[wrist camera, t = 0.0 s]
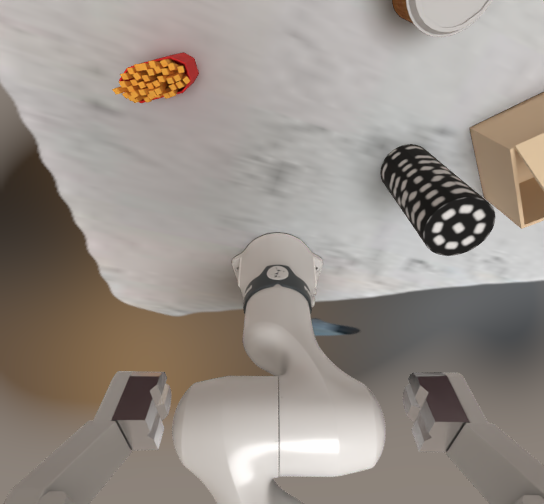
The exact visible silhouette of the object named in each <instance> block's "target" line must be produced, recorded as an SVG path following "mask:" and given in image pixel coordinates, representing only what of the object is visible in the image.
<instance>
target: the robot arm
mask: <svg viewBox="0 0 544 504" xmlns="http://www.w3.org/2000/svg"><path fill="white" fill-rule="evenodd" d="M322 266H323V260H322V259H321V258H320V257H319V256H317V255H315V254H313V253H312V252H311V251H310V250H309V248H308V247H307V246H306V244H305V243H304V242H302V241H301V240H300V239H298V238H296V237H294V236H292V235H288V234H283V233H272V234H266V235H263V236H261V237H259V238H257V239H255V240H254V241H252V242H251V243H250V244H249V245H248V247H247V248H246V249H245V251H244V252H243V253H241V254H239V255H238V256H236V257H235V258H233V260H232V267H233V270H234V273H235V275H236V278H237V281H238V286H239V287H240V290H241V293H242V296H243V299H244V300H243V304H244V306H243V307H244V313H245V321H244V332H243V345H244V349H245V351H246V353H247V355H248V356H249V357H250V359H251V360H252V361H253V362H254V363H255V364H256V365H257V366H258V367H260V368H261V369H263V370H265V371H267V372H269V373H271V374H273V375H274V376H225V377H220V378H215V379H210V380H206V381H201V382H197V383H194V384H193V385H192V386H191V387H190V388H189V389H188V390H187V391H186V392H185V394H184V395H183V397H182V398H181V400H180V402H179V404H178V406H177V408H176V411H175V415H174V419H173V426H172V436H173V443H174V447H175V450H176V452H177V455H178V457H179V459H180V461H181V462H182V464H183V465H184V466H185V467H186V468H187V469H189V470H190V471H191V472H192V473H193V474H195V475H196V476H197V477H198V478H199V479H200V480H201V481H202V482H203V484H204V485H205V486H206V487H207V489H208V490H209V491H210V493H211V494H212V496H213V498H214V499H215V501H216V503H217V504H304V503H303V502H301V501H300V500H299V499H297V498H295V497H293V496H292V495H290V494H288V493H287V492H285V491H284V490H282V489H281V488H280V487H279V486H278V484H277V483H276V482H275V481H274V479H273V478H276V477H278V379H279V476H306V477H312V476H313V477H337V476H341V475H346V474H351V473H355V472H359V471H363V470H366V469H370V468H373V467H374V465H375V464H376V463H377V461H378V459H379V458H380V456H381V453H382V451H383V448H384V444H385V436H386V427H385V420H384V416H383V412H382V409H381V407H380V405H379V403H378V401H377V399H376V397H375V396H374V395H373V393H372V392H371V391H370V390H369V389H368V387H367V386H366V385H364V384H363V383H361V382H359V381H358V380H356V379H354V378H352V377H350V376H349V375H347V374H346V373H344V372H343V371H342V370H340V369H339V368H338V367H337V366H336V365H334V364H333V363H332V362H331V361H330V360H329V359H328V357H327V356H326V355H325V354H324V353H323V351H322V350H321V348H320V347H319V345H318V343H317V341H316V339H315V335H314V331H313V327H312V322H311V316H310V314H311V311H312V307H314V304H315V297H314V296H312V295H316V293H317V289H316V288H315V287H317V280H318V277H319V275H320V272H321V269H322ZM238 267H239V268H238ZM316 267H317V268H316ZM166 379H167V377H166V374H165V372H134V371H130V372H129V371H123V372H122V371H118V372H117V373H116V374H115V376H114V377H113V379H112V381H111V383H110V386H109V388H108V390H107V392H106V394H105V396H104V398H103V401H102V403H101V405H100V407H99V409H98V411H97V413H96V416H95V418H94V420H93V421H88V422H87V423H86V424H84V425H83V427H81V428H80V429H79V430H78V431H77V432H75V433H74V434H73V435H72V436H71V437H70V438H69V439H67V440H66V441H65V442H64V443H63V444H62V445H61V446H60V447H59V448H57V449H56V450H55V451H54V452H53V453H52V454H51V455H49V456H48V457H47V458H46V459H45V460H44V461H43V462H41V463H40V464H39V465H38V466H37V467H36V468H35V469H34V470H32V471H31V472H30V473H29V474H28V475H27V476H26V477H25V478H23V479H22V480H21V481H20V482H19V483H18V484H17V485H15V486H14V487H13V488H12V489H11V491H10V492H9V494H8V496H7V498H6V499H5V501H4V503H3V504H89V503H90V502H91V501H92V500H93V499H94V497H95V496H96V495H97V494H98V492H99V491H100V490H101V489H102V488H103V487H104V485H105V484H106V483H107V482H108V480H109V479H110V478H111V477H112V476H113V474H114V473H115V472H116V471H117V470H118V468H119V467H120V466H121V465H122V463H123V462H124V461H125V460H126V459H127V457H128V456H129V455H130V454H131V452H132V451H131V450H158V448H159V445H160V441H161V438H162V435H163V431H164V427H163V424H162V420H163V419H164V418H165V417H166V416H167V415H168V412H169V409H170V404H171V389H170V386H169V385H168V384H166ZM408 380H409V383H410V384H409V385H407V386H406V387H405V389H404V392H403V404H404V408H405V412H406V415H407V417H408V418H410V420H412V421H413V422H414V425H413V427H412V433H413V435H414V438H415V441H416V444H417V447H418V450H419V451H420V452H446V455H447V456H448V457H449V458H450V459H451V460H452V462H453V463H454V464H455V465H456V466H457V467H458V468H459V470H460V471H461V472H462V473H463V474H464V475H465V476H466V478H467V479H468V480H469V481H470V482H471V483H472V484H473V486H474V487H475V488H476V489H477V490H478V491H479V492H480V494H481V495H482V496H483V497H484V498H485V499H486V500H487V502H488V503H489V504H544V465H543V464H541V462H539V461H538V460H537V459H536V458H535V457H533V456H532V455H531V454H529V453H528V452H527V451H526V450H525V449H524V448H522V447H521V446H520V445H519V444H518V443H516V442H515V441H514V440H513V439H512V438H510V437H509V436H508V435H507V434H506V433H504V432H503V431H502V430H501V429H500V428H498V427H497V426H496V425H495V424H494V423H488V422H487V420H486V418H485V416H484V414H483V412H482V410H481V409H480V407H479V405H478V403H477V401H476V400H475V397H474V396H473V394H472V392H471V390H470V388H469V387H468V385H467V383H466V381H465V379H464V377H463V376H462V375H461V374H460V373H441V372H434V373H412V374H410V376H409V378H408Z"/></svg>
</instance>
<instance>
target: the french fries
mask: <svg viewBox="0 0 544 504" xmlns="http://www.w3.org/2000/svg"><path fill="white" fill-rule="evenodd" d="M198 74H199V72H198V69H197V66H196V63H195V59H194V58H193V57H191V56H189V55H187V54H186V53H179V54H175V55H170V56H167V57H163V58H159V59H155V60H152V61H148V62H144V63H141V64H135V65H134V66H131V67H128V68H127V69H126V70H125V72H124V73H123V74H120V75H121V78H120V80H119V81H120V82H119V83H120V85H121V87H118V88H115V89H112V90H113V91H114V92H115V94H120V93H123V92H125V93H123V94H122V95H123V96H124V97H125V98H126V99H127V98H129V100H130V101H133V102H134V103H136V102H140V103H144V102H151V101H152V100H154V99H158V98H162V97H165V98H170V97H173V96H176V94H180V93H183V92H184V91H185V90H186V89H187V88H188V87H189V86H190V85H191V84H193V83H194V81H195V79H196V78H197V76H198Z"/></svg>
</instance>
